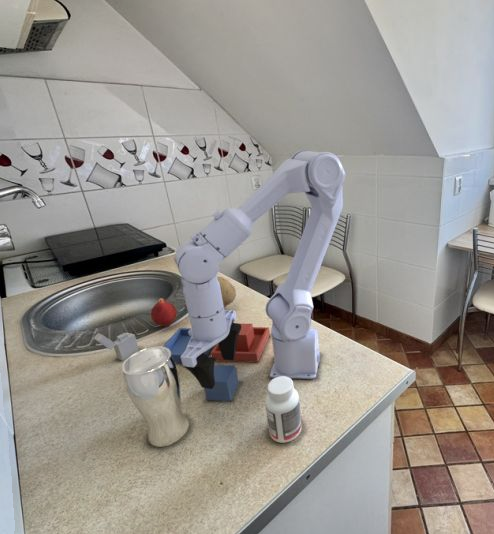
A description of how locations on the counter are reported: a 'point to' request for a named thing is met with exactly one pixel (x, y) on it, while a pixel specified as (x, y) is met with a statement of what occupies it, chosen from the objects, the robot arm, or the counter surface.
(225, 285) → the potato
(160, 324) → the onion
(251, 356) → the red tray
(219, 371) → the blue block
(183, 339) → the blue tray
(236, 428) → the counter surface
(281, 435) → the pill bottle
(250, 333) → the red block
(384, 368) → the counter surface
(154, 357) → the beer glass
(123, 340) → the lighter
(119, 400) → the counter surface
